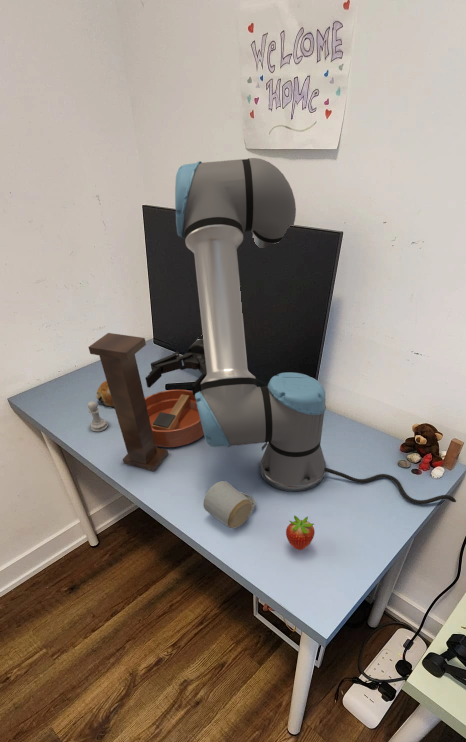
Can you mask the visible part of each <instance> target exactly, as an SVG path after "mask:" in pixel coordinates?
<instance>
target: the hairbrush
mask: <svg viewBox="0 0 466 742" xmlns="http://www.w3.org/2000/svg"><path fill="white" fill-rule="evenodd" d="M189 402H190V396H189V395H183V394H182V395H181V396H180V398H179V399H178V401H177V402H176V404H175V406H174V407H173V409H172V410H171V412H170V413H169V414H167V413H162V412H160V413H159V415H158V416H157V418H156V419H155V421H154V422H153V425H152V427H153V429H154V430H175V429H178V427H179V426H180V425H179V421H178V420H179V418H180V416H181V415H182V413H183V412H184V410H185V408H186V407H187V405H188V404H189Z"/></svg>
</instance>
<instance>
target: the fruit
mask: <svg viewBox="0 0 466 742" xmlns="http://www.w3.org/2000/svg"><path fill="white" fill-rule="evenodd" d="M293 519H294V521H292V520H289V524H288V525H287V527H286V529H285V536H286V539H287V541H288V543H289V544H290V545H291V546H292V547H293V549H295V550H297V551H303V550H304V549H306V548H307V547H308V546H310V545H311V543H312V541H313V540H314V538H315V533H316V531H315V527H314V525H315V523H311V522H309V521H308V519H309V516H306V517H304V518H303V519H300V518H299V517H298V516H296V515H293Z"/></svg>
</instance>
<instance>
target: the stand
mask: <svg viewBox="0 0 466 742" xmlns="http://www.w3.org/2000/svg"><path fill="white" fill-rule="evenodd" d="M146 345H147V342H146V337H141V336H135V335H126V334H119V333H112V332H107V333H106V334H104V335H102V337H100V338H98V339H97V340H96V341H95V342H93V343H92V344H90V345H89V346H88V350H89V354H90V355H93V356H94V355H95V356H99V359H100V363H101V366H102V369H103V373H104V376H105V381H106V380H107V384H108V387H109V391H110V394H111V398H112V401H113V404H114V407H113V408H114V411H115V414H116V418H117V421H118V425H119V429H120V432H121V435H122V439H123V443H124V445H125V448H126V454H125V456H124V457H122V462H123V464H124V465H127V466H131V467H135V468H140V469H143V470H147V471H152V472H156V471H157V469H158V468H159V467H160V466H161V465H162V463H164V461H165V459H166V458H167V457H168V456H169V452H168V449H165V448H162V447H158V446H155V441H154V437H153V433H152V428H151V424H150V419H149V415H148V411H147V406H146V402H145V398H146V397H145V393H144V389H143V385H142V379H141V376H140V373H139V367H138V366H139V365H138V363H137V358H136V354H137V353H138V352H139V351H141V350H142V349H143V348H144V347H146Z"/></svg>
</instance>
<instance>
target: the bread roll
mask: <svg viewBox="0 0 466 742" xmlns="http://www.w3.org/2000/svg"><path fill="white" fill-rule="evenodd" d="M96 400H97V401H99V402H100V404H102V405H103V406H106V407H110V408H114V404H113V401H112V398H111V394H110V391H109V387H108V384H107V380H106V379H105V380H104V381H103V382H102V383H100V385H99V387H98V388H97V390H96Z"/></svg>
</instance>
